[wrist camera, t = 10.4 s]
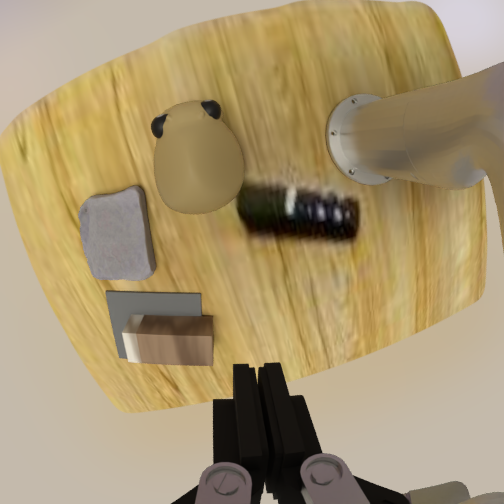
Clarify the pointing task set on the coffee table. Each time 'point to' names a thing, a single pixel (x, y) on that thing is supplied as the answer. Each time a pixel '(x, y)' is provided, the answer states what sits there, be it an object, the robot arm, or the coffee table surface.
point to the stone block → (117, 235)
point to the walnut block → (169, 340)
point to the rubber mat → (147, 308)
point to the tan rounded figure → (196, 158)
